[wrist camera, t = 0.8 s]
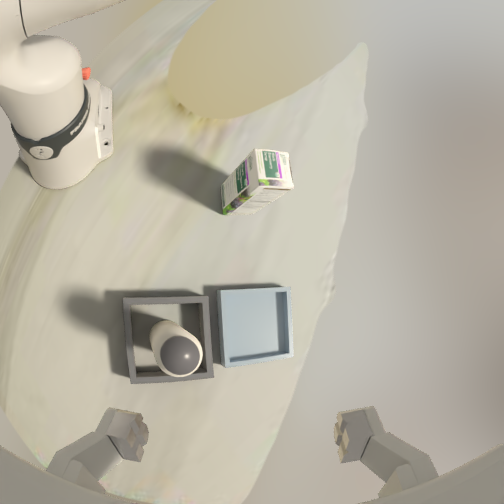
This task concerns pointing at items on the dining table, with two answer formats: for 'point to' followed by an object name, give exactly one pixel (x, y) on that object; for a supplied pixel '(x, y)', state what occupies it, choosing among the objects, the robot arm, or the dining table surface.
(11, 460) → the robot arm
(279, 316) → the tray
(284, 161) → the syrup box
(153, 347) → the canister
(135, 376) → the frame
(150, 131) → the dining table surface
